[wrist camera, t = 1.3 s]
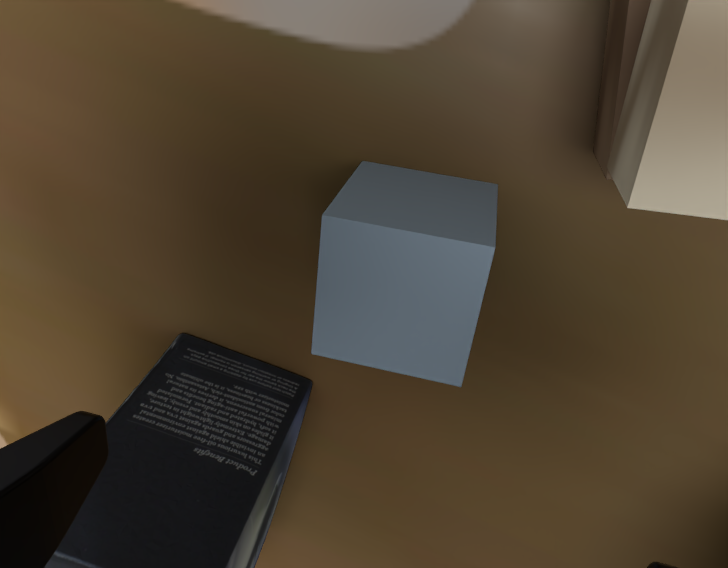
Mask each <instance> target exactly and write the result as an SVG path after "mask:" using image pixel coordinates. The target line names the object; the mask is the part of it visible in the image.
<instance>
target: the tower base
mask: <svg viewBox="0 0 728 568" xmlns="http://www.w3.org/2000/svg"><path fill="white" fill-rule="evenodd" d="M650 3H651V0H610V8H609V17H608V26H607V34H606V43H605V52H604V61H603V69H602V78H601V87H600V96H599V104H598V113H597V122H596V131H595V139H594V148H593V152H594V154H595V157H596V159H597V161H598V163H599V165H600V167H601V169H602V171H603V173H604V175H605V177H606V179H613V178H612V176H611V175H610V173H609V171H608V169H607V165H608V161H609V157H610V153H611V150H612V146H613V142H614V138H615V135H616V131H617V127H618V123H619V120H620V116H621V112H622V108H623V105H624V101H625V97H626V93H627V89H628V86H629V82H630V78H631V74H632V71H633V67H634V63H635V59H636V56H637V52H638V48H639V44H640V41H641V37H642V33H643V29H644V26H645V22H646V18H647V14H648V11H649V7H650Z"/></svg>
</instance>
